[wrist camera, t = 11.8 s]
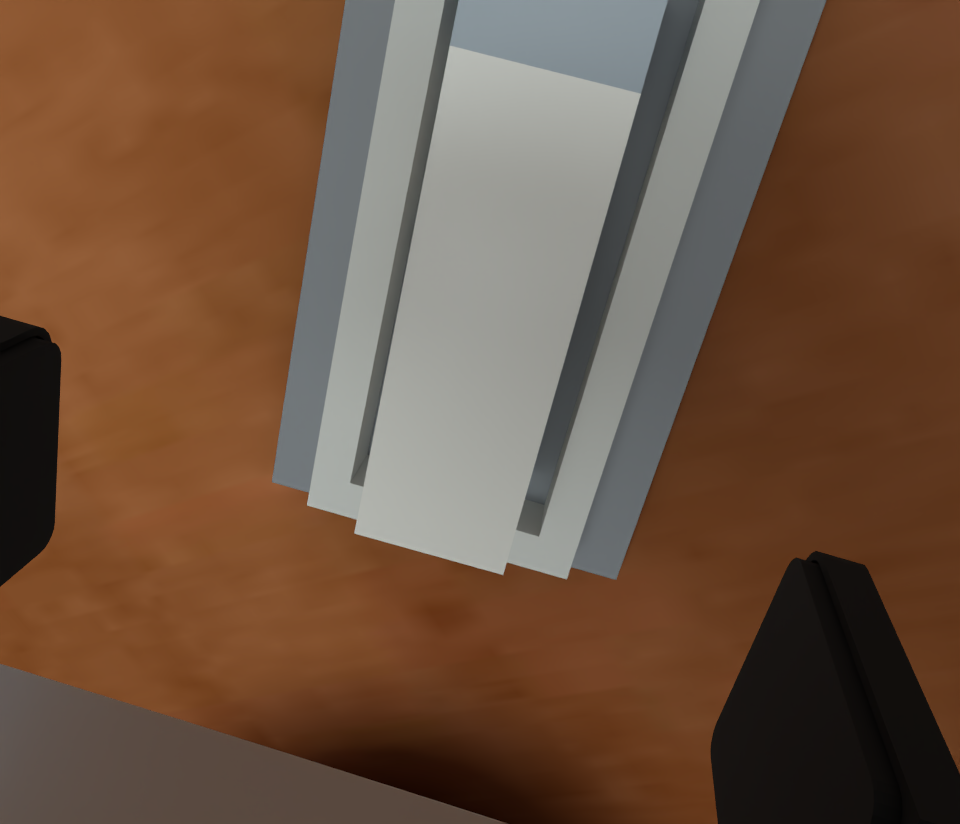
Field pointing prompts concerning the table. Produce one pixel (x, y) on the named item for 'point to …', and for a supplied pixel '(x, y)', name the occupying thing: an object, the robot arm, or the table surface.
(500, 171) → the butter block
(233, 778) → the robot arm
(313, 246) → the tray
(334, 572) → the table surface
